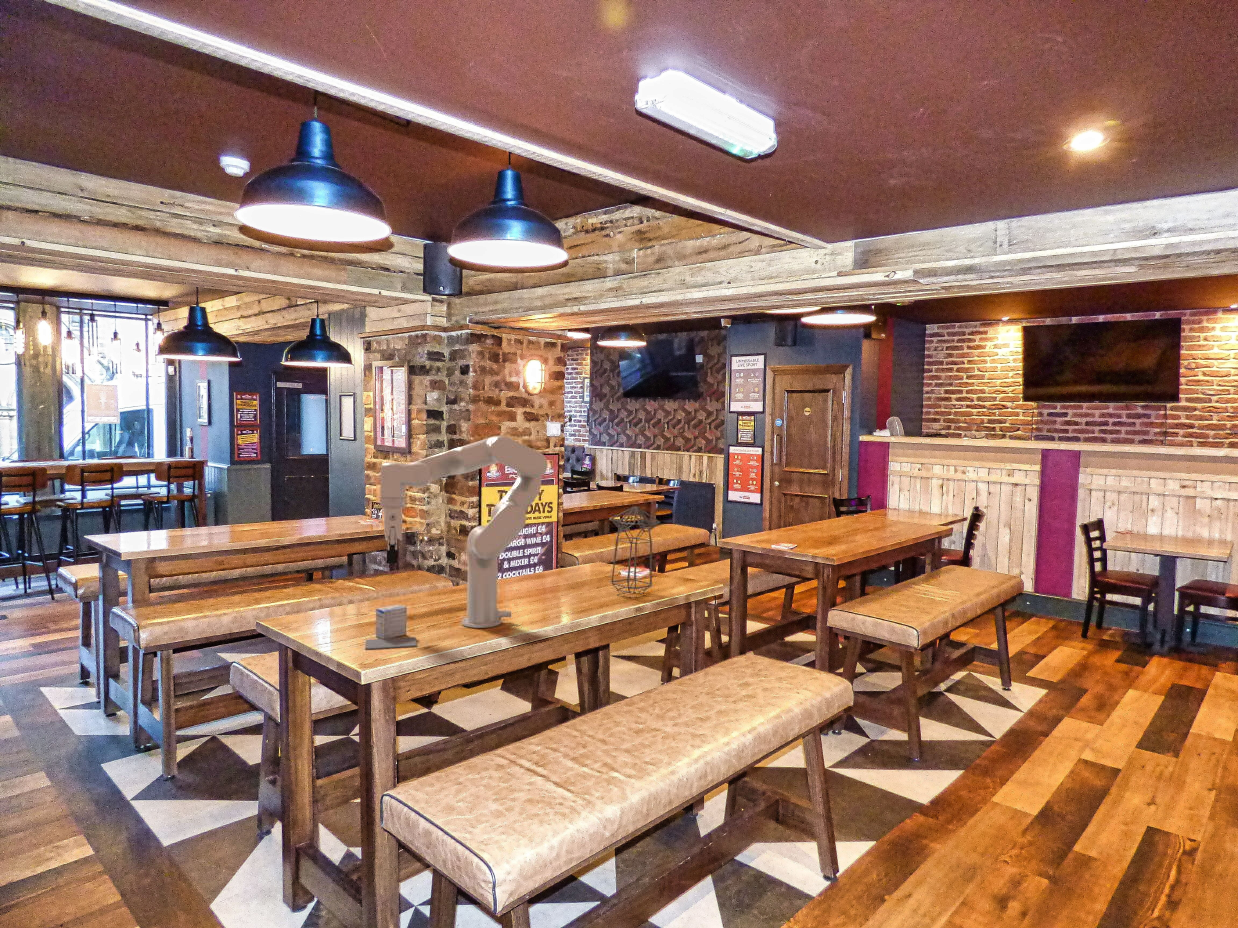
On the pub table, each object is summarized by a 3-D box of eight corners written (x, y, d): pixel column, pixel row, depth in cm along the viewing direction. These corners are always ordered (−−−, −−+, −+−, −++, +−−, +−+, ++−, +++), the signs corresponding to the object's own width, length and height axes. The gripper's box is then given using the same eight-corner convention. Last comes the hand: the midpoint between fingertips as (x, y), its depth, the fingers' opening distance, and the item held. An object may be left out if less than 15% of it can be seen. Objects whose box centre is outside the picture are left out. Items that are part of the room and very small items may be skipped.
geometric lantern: (629, 589, 293) (634, 503, 292) (659, 597, 282) (664, 508, 281) (602, 594, 282) (606, 505, 280) (631, 602, 271) (636, 509, 269)
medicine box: (398, 632, 221) (398, 604, 221) (406, 635, 218) (407, 606, 218) (375, 637, 215) (375, 608, 215) (383, 640, 212) (384, 611, 212)
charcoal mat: (415, 638, 215) (415, 636, 215) (416, 646, 207) (417, 645, 207) (366, 640, 211) (366, 639, 211) (365, 649, 202) (365, 648, 202)
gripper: (406, 505, 216) (405, 566, 216) (405, 500, 231) (404, 558, 231) (379, 505, 214) (378, 567, 214) (380, 500, 229) (379, 558, 229)
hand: (392, 562), depth 223 cm, fingers closed
